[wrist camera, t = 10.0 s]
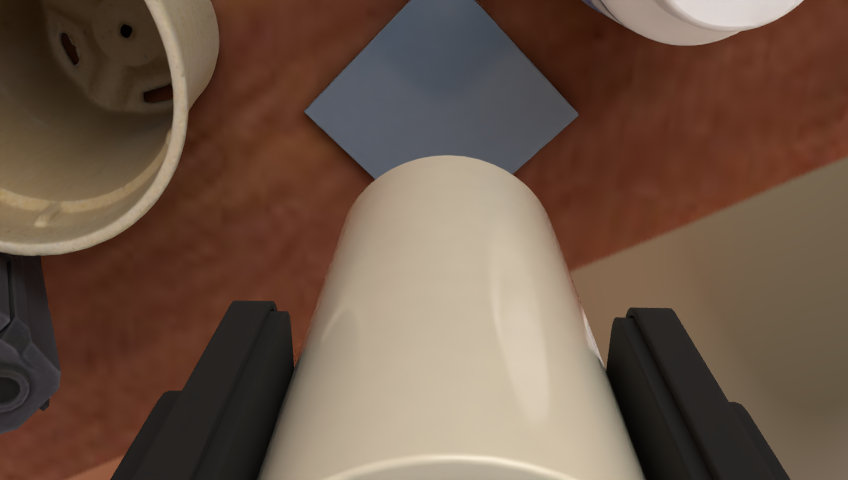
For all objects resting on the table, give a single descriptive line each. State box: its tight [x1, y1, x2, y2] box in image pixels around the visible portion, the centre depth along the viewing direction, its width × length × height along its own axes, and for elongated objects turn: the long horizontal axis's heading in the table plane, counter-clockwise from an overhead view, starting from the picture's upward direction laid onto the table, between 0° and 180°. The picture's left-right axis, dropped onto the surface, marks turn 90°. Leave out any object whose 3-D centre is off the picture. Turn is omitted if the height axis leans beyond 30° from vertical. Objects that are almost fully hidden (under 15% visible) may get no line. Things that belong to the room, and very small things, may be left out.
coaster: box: [304, 0, 579, 180], centre depth 26 cm, size 7×7×1 cm
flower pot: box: [0, 0, 219, 256], centre depth 21 cm, size 9×9×9 cm
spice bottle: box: [257, 155, 646, 480], centre depth 10 cm, size 4×4×10 cm
